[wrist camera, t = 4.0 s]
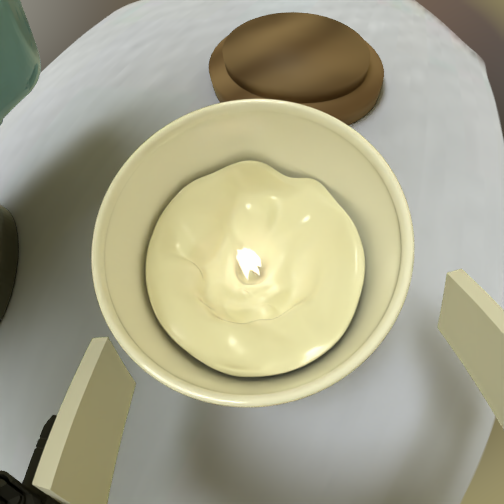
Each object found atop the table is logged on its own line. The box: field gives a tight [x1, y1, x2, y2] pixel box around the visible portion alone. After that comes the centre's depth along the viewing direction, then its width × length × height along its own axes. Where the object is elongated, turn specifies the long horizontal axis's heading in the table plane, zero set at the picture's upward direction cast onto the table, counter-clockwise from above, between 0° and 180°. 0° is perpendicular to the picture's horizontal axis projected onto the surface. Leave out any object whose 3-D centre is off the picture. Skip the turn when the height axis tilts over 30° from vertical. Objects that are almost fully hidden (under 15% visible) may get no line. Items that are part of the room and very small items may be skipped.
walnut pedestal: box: [209, 12, 384, 125], centre depth 25 cm, size 16×16×4 cm
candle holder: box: [91, 99, 414, 407], centre depth 14 cm, size 10×10×12 cm
